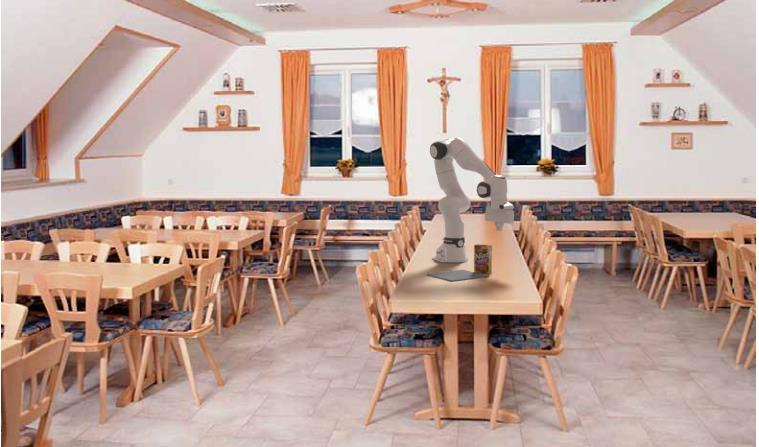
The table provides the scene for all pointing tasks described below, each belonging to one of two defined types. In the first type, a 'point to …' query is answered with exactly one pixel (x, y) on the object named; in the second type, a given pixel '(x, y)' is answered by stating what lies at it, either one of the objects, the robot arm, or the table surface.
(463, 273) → the mat
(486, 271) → the candy box
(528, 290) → the table surface
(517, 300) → the table surface
